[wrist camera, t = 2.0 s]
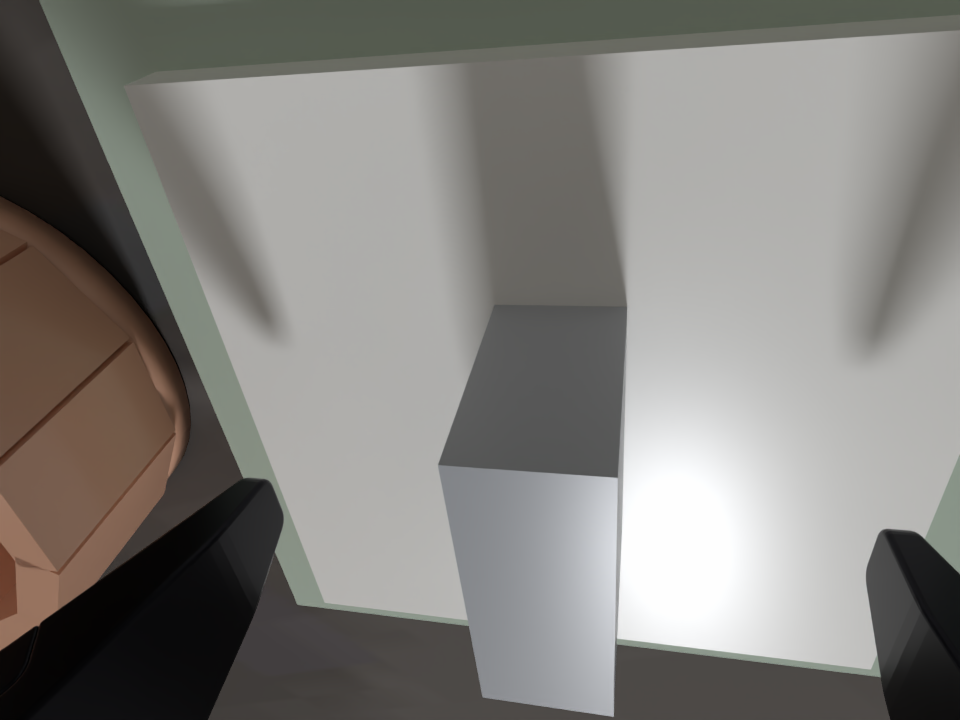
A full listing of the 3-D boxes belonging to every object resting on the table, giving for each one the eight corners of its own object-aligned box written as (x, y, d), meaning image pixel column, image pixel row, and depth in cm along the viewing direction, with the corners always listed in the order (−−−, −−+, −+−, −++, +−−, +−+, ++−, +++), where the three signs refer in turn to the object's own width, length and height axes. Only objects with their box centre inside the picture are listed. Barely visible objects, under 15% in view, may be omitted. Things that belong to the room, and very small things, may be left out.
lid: (861, 634, 14) (925, 872, 11) (336, 575, 17) (258, 753, 14) (1098, 5, 8) (1465, 125, 4) (156, 71, 10) (-91, 179, 7)
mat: (912, 656, 15) (921, 682, 15) (306, 586, 19) (297, 604, 18) (1307, -186, 7) (1356, -188, 6) (54, -39, 10) (24, -34, 10)
